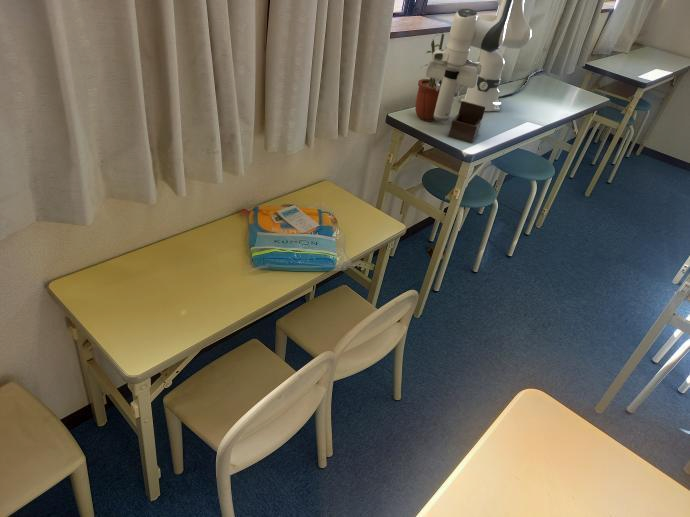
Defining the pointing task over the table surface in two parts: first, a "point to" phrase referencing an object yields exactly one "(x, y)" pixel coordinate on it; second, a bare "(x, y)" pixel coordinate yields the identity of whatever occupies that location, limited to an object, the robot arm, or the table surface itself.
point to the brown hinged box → (467, 122)
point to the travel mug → (446, 96)
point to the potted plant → (428, 92)
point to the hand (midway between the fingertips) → (447, 93)
